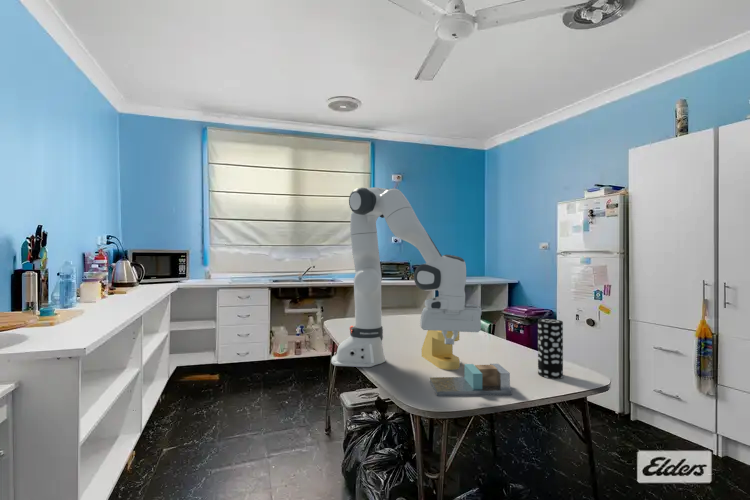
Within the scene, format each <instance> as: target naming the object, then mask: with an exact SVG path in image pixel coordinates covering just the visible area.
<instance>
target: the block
mask: <svg viewBox="0 0 750 500" xmlns="http://www.w3.org/2000/svg"><path fill="white" fill-rule="evenodd" d="M474 366H475V367H476V368H477V369H478V370H479V371H480V372H481V373H482V386H497V368H496V367H495V366H494V365H490V364H475V365H474Z"/></svg>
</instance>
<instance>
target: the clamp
mask: <svg viewBox="0 0 750 500" xmlns="http://www.w3.org/2000/svg"><path fill="white" fill-rule="evenodd" d="M445 335H446V337H447V338H452V336H453V331H447V334H445ZM458 341H460V332H458V336H457V337H456V338H455V340H454V342H458ZM421 357H422V358H424V359H425V360H427V361H428V362H429V363H430V364H432V365H433V366H434V367H437V369H440V370H445V371H446V370H447V371H453V370H458V369H459V368H460V358H459V356H456V355H455V354H453V344H445V338H444V336H443V334H442V331H435V330H426V335H425V337H424V340H423V343H422V347H421Z"/></svg>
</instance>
